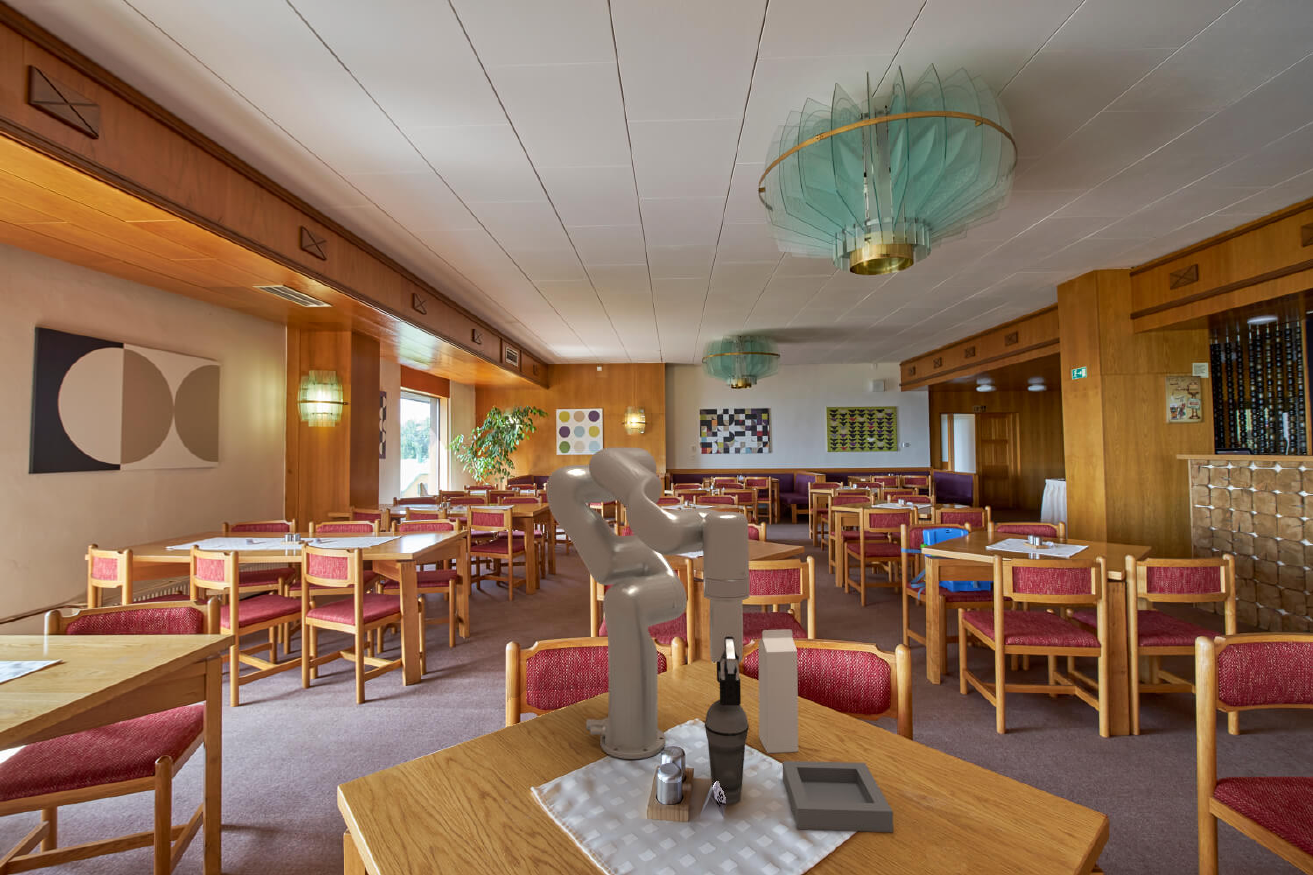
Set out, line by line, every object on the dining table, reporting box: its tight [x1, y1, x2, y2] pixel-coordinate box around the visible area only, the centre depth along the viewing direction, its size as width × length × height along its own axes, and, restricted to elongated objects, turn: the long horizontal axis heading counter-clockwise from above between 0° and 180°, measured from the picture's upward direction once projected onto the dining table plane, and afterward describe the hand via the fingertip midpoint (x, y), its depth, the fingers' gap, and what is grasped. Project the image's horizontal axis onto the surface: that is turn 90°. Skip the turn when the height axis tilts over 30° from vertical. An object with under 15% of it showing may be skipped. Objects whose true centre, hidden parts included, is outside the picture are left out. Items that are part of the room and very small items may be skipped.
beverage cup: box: [703, 671, 749, 805], centre depth 98 cm, size 7×7×20 cm
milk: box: [758, 629, 799, 754], centre depth 115 cm, size 6×6×22 cm
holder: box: [782, 760, 894, 833], centre depth 96 cm, size 14×14×3 cm
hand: (728, 692), depth 98 cm, fingers open, 9 cm apart
